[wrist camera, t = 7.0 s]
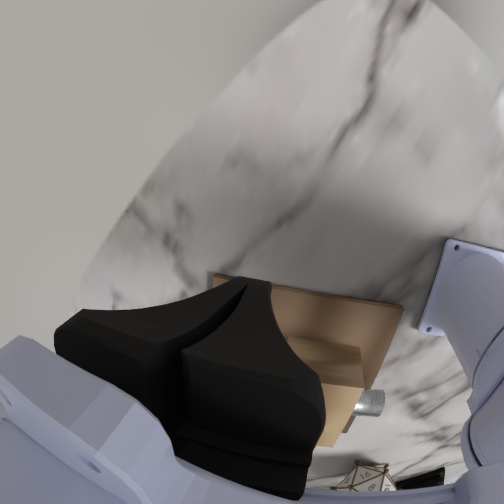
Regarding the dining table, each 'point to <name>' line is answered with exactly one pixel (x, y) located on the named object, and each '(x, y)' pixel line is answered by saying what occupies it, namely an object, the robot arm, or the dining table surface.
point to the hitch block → (335, 345)
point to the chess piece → (423, 480)
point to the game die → (367, 480)
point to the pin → (370, 403)
